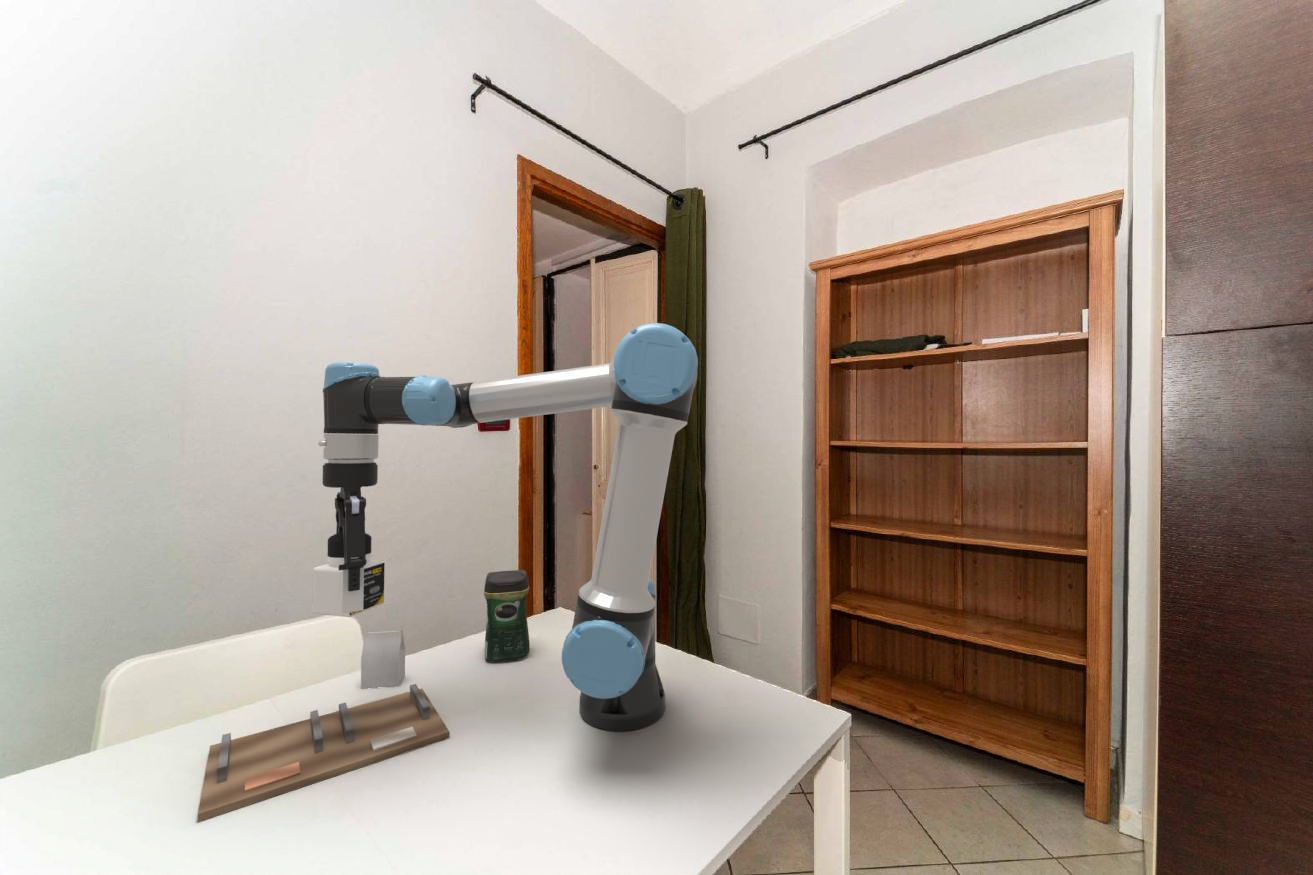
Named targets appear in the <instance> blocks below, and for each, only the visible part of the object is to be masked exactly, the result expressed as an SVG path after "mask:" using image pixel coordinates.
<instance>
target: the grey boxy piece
mask: <svg viewBox="0 0 1313 875" xmlns="http://www.w3.org/2000/svg"><path fill="white" fill-rule="evenodd" d="M404 640H405V639H404V633H403V630H392V631H391V630H389V631H374V632H373V631H372V632H370V631H369V632H365V633H364V638H363V645H362V650H361V657H360V669H361V670H360V690H368V688H371V689H377V688H376V687H386V688H397V687H398V688H399V687H400V686H401V684H402V683H403V682H404V680H405V679H406V646H405V642H404ZM404 678H405V679H404ZM401 682H402V683H401ZM399 685H400V686H399Z"/></svg>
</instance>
